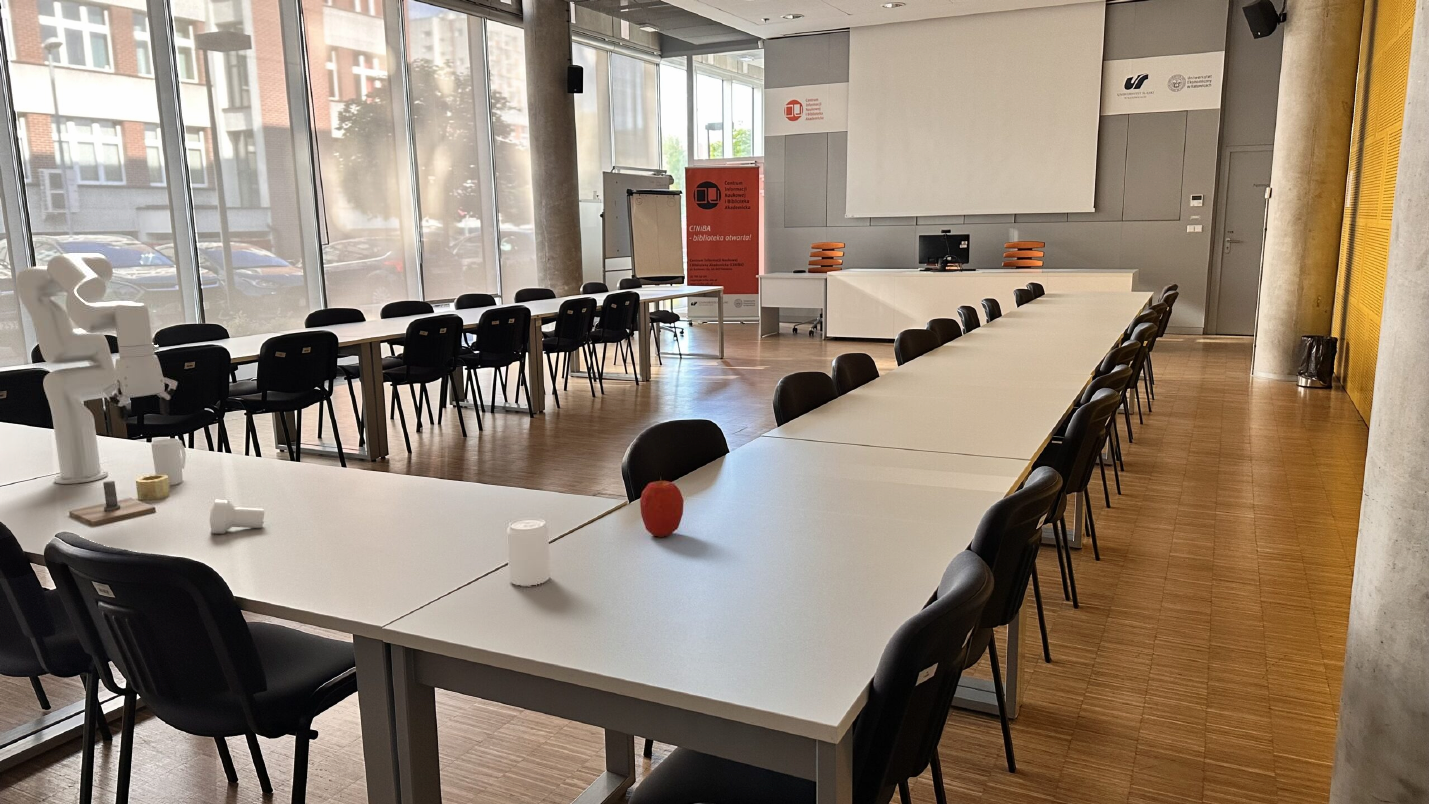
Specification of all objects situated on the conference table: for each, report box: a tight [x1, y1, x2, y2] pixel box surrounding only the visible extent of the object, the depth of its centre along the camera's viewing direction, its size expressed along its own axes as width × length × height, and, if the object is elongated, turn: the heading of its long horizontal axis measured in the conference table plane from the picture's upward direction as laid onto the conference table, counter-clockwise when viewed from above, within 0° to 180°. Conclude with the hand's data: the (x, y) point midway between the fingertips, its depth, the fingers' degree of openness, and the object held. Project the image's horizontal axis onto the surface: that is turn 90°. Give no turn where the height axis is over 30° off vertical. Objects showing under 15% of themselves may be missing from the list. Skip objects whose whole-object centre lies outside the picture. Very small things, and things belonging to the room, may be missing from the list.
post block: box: [68, 480, 157, 527], centre depth 230 cm, size 14×14×8 cm
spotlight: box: [209, 498, 265, 535], centre depth 217 cm, size 8×11×8 cm
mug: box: [150, 438, 187, 487], centre depth 259 cm, size 10×7×12 cm, turn 169°
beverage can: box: [506, 517, 551, 587], centre depth 185 cm, size 8×8×12 cm
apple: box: [639, 476, 685, 538], centre depth 212 cm, size 10×10×14 cm
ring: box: [135, 474, 171, 501], centre depth 245 cm, size 7×7×5 cm
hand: (144, 417), depth 239 cm, fingers open, 9 cm apart
